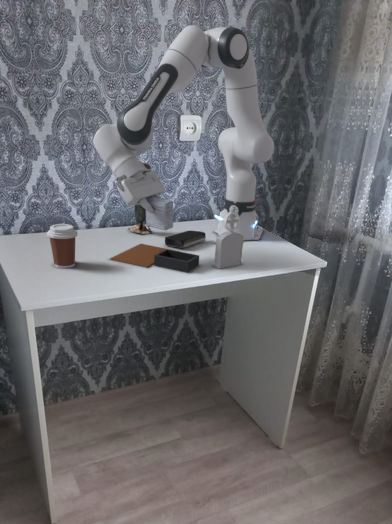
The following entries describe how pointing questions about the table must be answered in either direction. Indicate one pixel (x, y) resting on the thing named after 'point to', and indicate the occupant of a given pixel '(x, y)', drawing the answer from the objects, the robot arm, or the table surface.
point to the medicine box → (160, 214)
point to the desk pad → (139, 255)
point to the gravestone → (229, 243)
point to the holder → (176, 260)
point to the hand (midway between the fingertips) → (157, 210)
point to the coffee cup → (63, 244)
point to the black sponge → (185, 239)
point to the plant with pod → (140, 220)
